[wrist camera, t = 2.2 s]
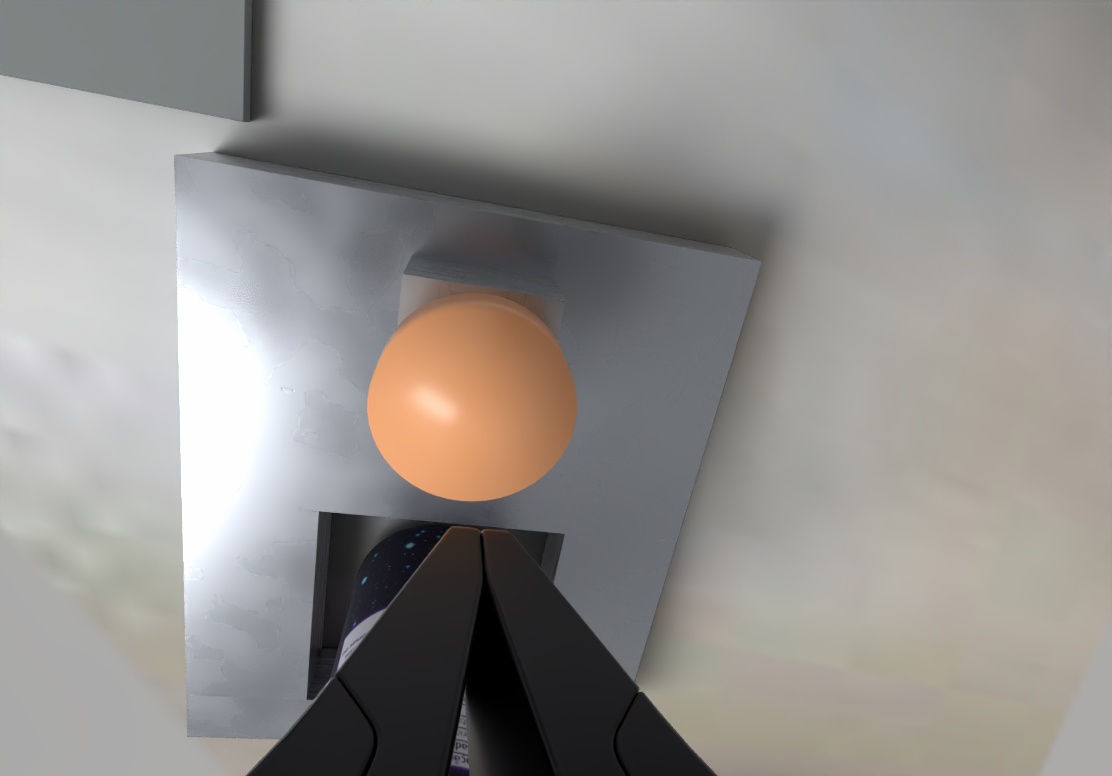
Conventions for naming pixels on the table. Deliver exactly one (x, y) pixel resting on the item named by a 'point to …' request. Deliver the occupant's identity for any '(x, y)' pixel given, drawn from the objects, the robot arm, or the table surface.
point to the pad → (135, 50)
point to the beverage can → (376, 591)
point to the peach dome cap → (472, 398)
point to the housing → (342, 391)
